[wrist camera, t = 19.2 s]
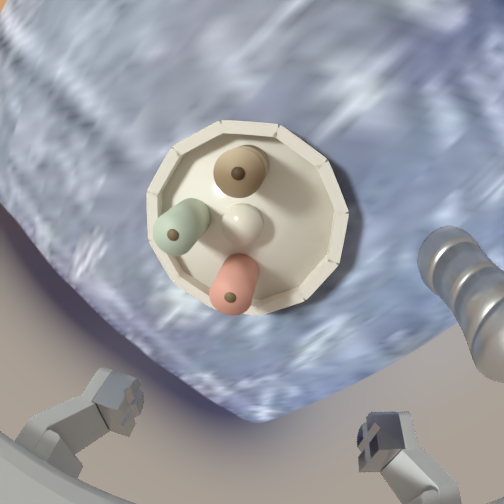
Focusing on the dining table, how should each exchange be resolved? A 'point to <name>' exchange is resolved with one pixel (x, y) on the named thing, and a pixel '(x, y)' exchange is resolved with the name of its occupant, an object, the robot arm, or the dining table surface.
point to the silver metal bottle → (468, 293)
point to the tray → (254, 214)
